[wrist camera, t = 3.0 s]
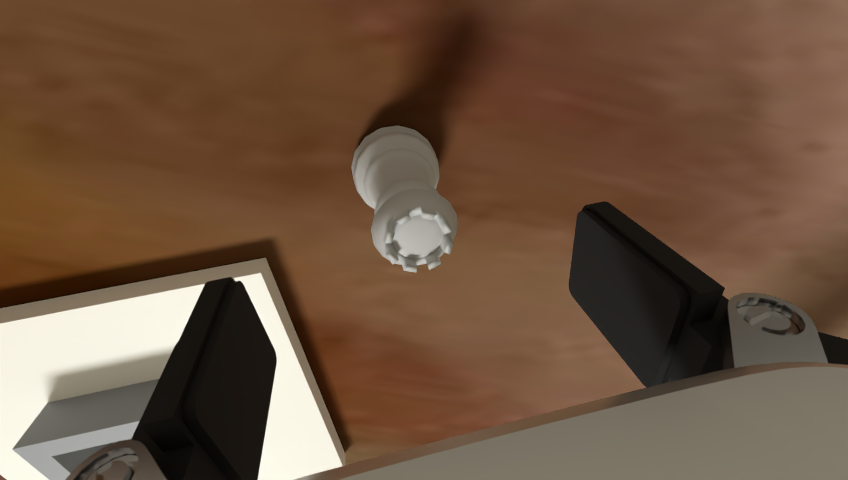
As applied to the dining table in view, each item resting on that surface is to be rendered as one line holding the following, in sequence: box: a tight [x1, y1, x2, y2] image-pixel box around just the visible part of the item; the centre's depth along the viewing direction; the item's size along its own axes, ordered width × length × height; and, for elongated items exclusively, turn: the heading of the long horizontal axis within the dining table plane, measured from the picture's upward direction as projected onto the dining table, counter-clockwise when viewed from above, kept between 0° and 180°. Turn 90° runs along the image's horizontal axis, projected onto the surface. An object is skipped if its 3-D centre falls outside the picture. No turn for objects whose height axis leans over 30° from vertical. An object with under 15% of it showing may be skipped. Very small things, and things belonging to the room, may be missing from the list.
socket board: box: [0, 258, 345, 480], centre depth 24 cm, size 20×20×4 cm
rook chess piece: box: [351, 126, 457, 272], centre depth 17 cm, size 4×4×8 cm
